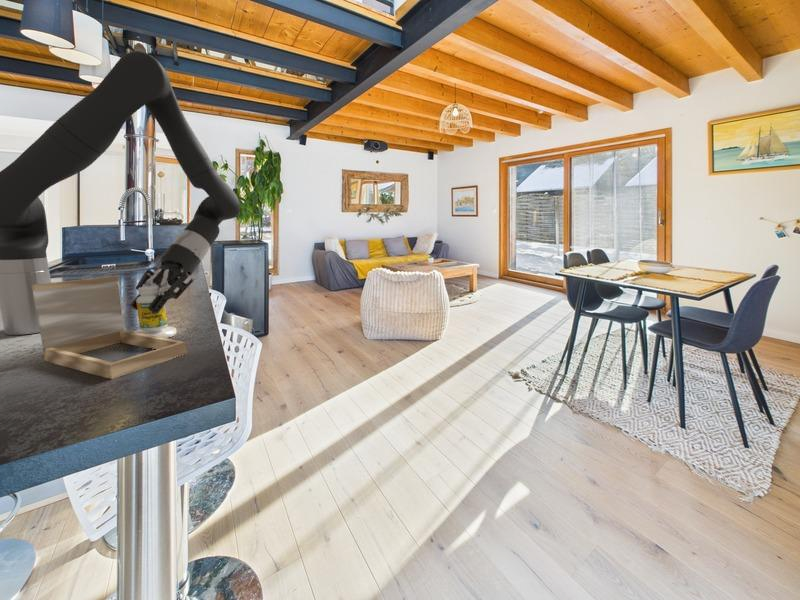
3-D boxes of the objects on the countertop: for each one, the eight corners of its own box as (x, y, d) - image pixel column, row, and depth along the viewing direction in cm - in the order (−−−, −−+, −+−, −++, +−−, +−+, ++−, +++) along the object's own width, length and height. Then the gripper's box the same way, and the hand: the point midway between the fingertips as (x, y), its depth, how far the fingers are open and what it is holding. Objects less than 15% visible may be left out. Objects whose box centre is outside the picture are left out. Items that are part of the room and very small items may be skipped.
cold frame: (44, 361, 70) (31, 285, 67) (123, 340, 83) (114, 276, 80) (112, 379, 62) (100, 295, 60) (187, 353, 75) (180, 283, 72)
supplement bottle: (167, 323, 89) (162, 284, 87) (168, 329, 85) (163, 288, 83) (140, 326, 86) (134, 286, 84) (139, 332, 82) (134, 290, 80)
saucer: (121, 339, 84) (120, 334, 83) (159, 329, 92) (159, 324, 91) (148, 344, 80) (147, 339, 80) (185, 333, 88) (185, 329, 88)
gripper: (154, 241, 91) (108, 297, 83) (197, 243, 86) (152, 304, 77) (177, 261, 97) (135, 315, 89) (217, 264, 92) (177, 322, 83)
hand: (143, 309), depth 83 cm, fingers closed on supplement bottle, 5 cm apart
